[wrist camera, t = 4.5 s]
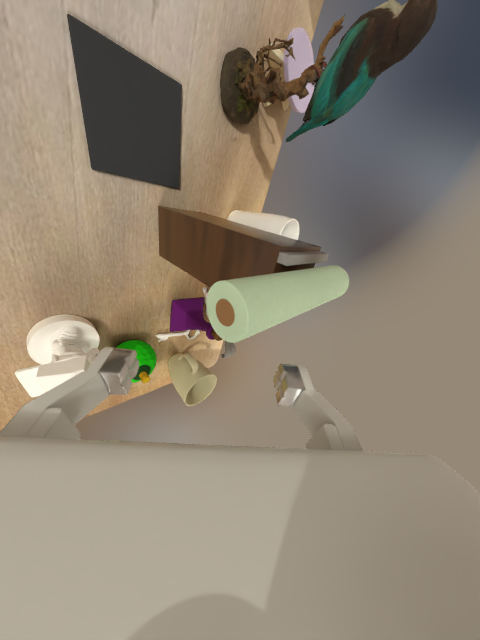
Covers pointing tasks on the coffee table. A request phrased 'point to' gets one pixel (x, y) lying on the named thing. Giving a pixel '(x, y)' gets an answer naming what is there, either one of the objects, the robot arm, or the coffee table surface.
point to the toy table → (294, 67)
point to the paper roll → (270, 299)
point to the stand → (228, 247)
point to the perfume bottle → (194, 320)
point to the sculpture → (341, 72)
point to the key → (165, 336)
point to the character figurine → (58, 352)
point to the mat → (126, 110)
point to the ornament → (142, 358)
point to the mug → (191, 378)
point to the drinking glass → (267, 222)
